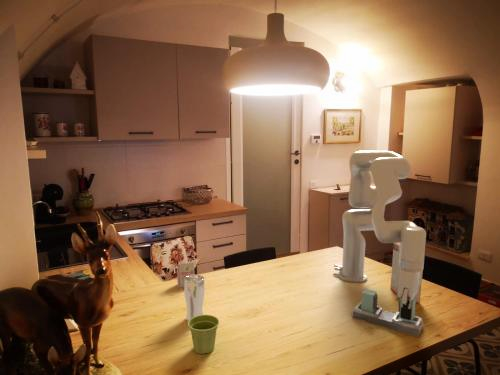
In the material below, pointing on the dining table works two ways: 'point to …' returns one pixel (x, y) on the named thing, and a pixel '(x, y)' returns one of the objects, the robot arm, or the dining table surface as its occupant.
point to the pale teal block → (411, 307)
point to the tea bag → (184, 272)
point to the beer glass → (194, 295)
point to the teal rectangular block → (369, 300)
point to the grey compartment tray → (389, 320)
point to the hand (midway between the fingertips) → (407, 315)
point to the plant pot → (203, 332)
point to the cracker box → (397, 270)
